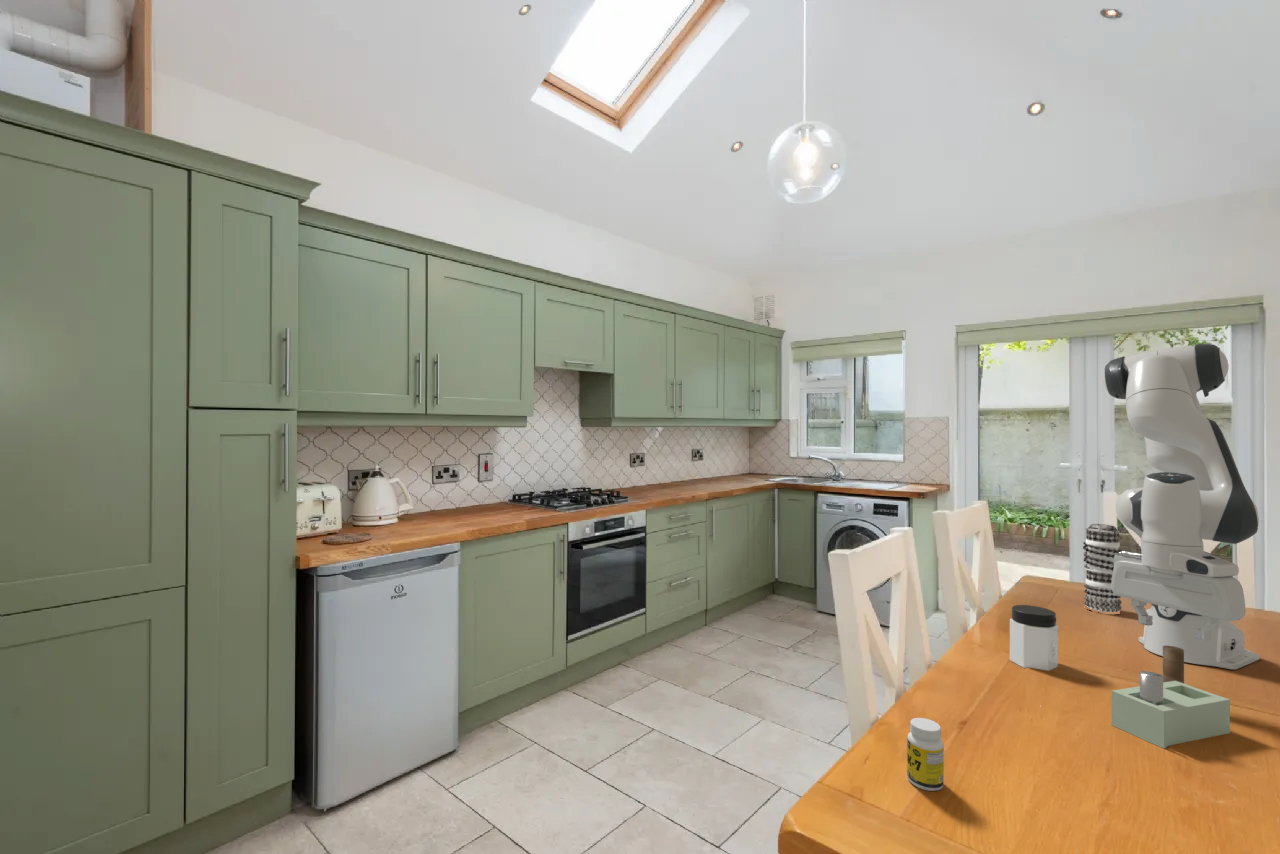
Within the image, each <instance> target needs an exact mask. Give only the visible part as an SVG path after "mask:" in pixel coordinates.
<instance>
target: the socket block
mask: <svg viewBox="0 0 1280 854" xmlns="http://www.w3.org/2000/svg"><path fill="white" fill-rule="evenodd" d="M1111 726H1113V727H1115V728H1117V729H1119V730H1121V731H1124V732H1126V733H1128V734H1130V735H1133V736H1135V737H1137V738H1139V739H1141V740H1144V741H1146V742H1148V743H1151V744H1153V745H1155V746H1157V747H1160V748H1161V749H1170V747H1169V746H1173V745H1177V744H1182V743H1188V742H1191V741H1192V742H1193V741H1198V740H1202V739H1203V740H1204V739H1207V738H1212V737H1218V736H1221V735H1227V734H1231V699H1230V698H1227V697H1224V696H1220V695H1217V694H1215V693H1212V692H1210V691H1206V690H1204V689H1201V688H1197V687H1195V686H1192V685H1188V684H1187V683H1184V684H1183V683H1181V682H1178V681H1170V682H1163V705H1158V706H1157V705H1154V704H1152V703H1149V702H1147V701H1144V700H1141V699H1140V685H1138V686H1133V687H1127V688H1121V689H1113V690H1111Z"/></svg>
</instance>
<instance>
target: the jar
mask: <svg viewBox="0 0 1280 854" xmlns="http://www.w3.org/2000/svg"><path fill="white" fill-rule="evenodd" d="M1056 623H1057V615H1056V612H1055V611H1053V610H1051V609H1048V608H1044V607H1042V606H1035V605H1029V604H1027V605H1026V604H1016V605H1013V606H1012V607H1011V618H1010V619H1009V661H1010V662H1013V663H1014V664H1015V665H1018V666H1020V667H1021V668H1023V669H1036V670H1041V671H1046V672H1047V671H1048V672H1049V671H1051V670H1053V669H1055V668H1057V667H1059V625H1058V624H1056Z"/></svg>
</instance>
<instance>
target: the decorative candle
mask: <svg viewBox="0 0 1280 854" xmlns="http://www.w3.org/2000/svg"><path fill="white" fill-rule="evenodd" d="M1085 530H1086V533H1085V534H1086V535H1085V536H1086V537H1085V542H1082V544H1083V546H1082V549H1083V550H1084V551H1085V552H1083V556H1084V557H1083V561H1084V562H1085V564H1084V567H1083V568H1084V569H1085V570H1086V572H1085V573H1086V574H1085V575H1086V578H1085V584H1084V586H1083V587H1084V588H1085V589H1084V591H1083V592H1084V593H1086V594H1085V595H1084V597H1083V598H1084V602H1083V604H1084V605H1085V606H1087V607H1088V608H1090V609H1093V610H1097V611H1102V612H1118V611H1121V610H1122V606H1121V605H1122V602H1123V601H1122V600H1121V597H1120V596H1116V595H1115V594H1114V593H1113V591H1112V590H1111V582H1112V574H1113V569H1114V556H1115V555H1116V554H1117V553H1120V552H1121V551H1122V550H1121V549H1120V545H1121V544H1120V543H1121V542H1120V533H1121V531H1119V530H1118V529H1117V527H1116V526H1114V525H1112V524H1104V523H1103V524H1102V523H1093V524H1090V525H1089V526H1088V527H1087V528H1085Z"/></svg>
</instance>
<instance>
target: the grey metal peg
mask: <svg viewBox="0 0 1280 854" xmlns="http://www.w3.org/2000/svg"><path fill="white" fill-rule="evenodd" d="M1139 686H1140V699H1141V700H1144V701H1147V702H1149V703H1152V704H1154V705H1157V706H1158V705H1163V674H1159V673H1156V672H1154V671H1149V670H1148V671H1147V670H1141V671H1139Z"/></svg>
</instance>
